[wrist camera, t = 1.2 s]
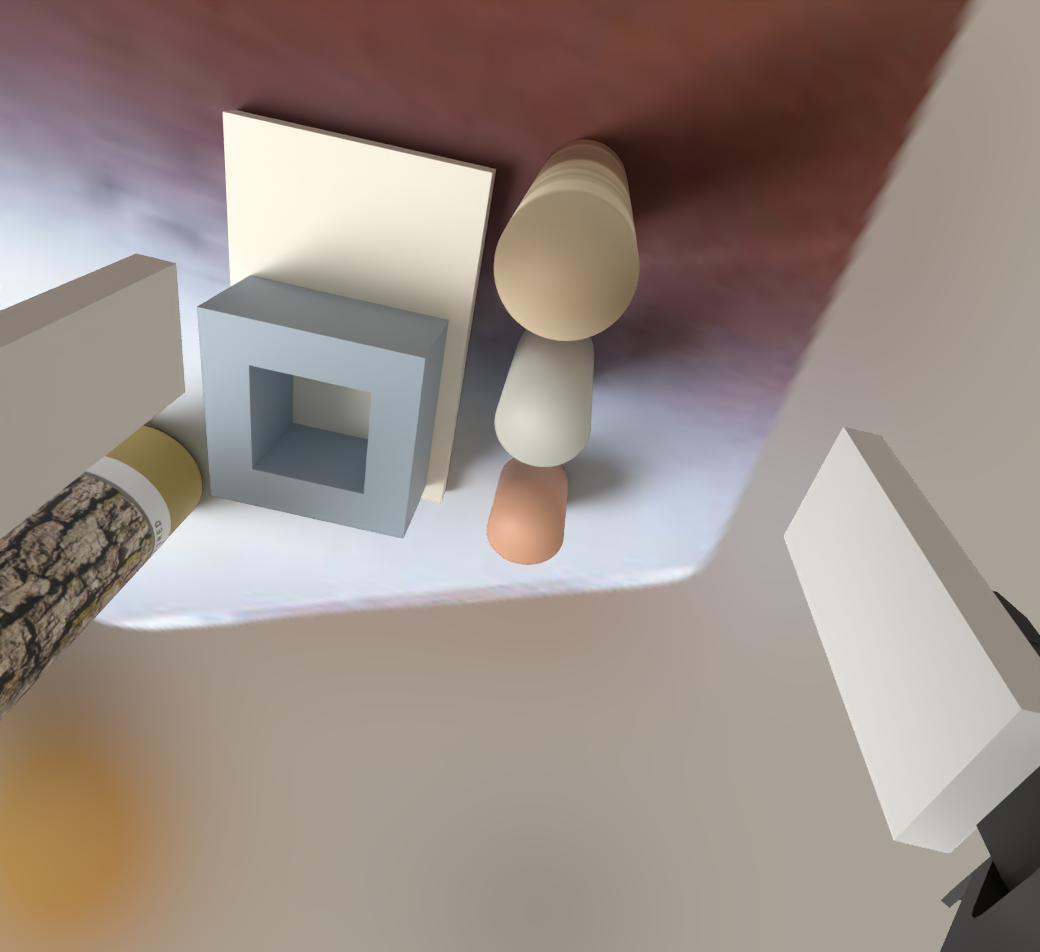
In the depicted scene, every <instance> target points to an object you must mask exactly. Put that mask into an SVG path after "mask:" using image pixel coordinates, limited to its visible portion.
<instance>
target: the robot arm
mask: <svg viewBox="0 0 1040 952" xmlns="http://www.w3.org/2000/svg"><path fill="white" fill-rule="evenodd" d="M184 392H185V382H184V368H183V354H182V340H181V326H180V312H179V298H178V284H177V270H176V263H173V262H168V261H164V260H160V259H156V258H152V257H148V256H144V255H140V254H134V255H132V256H129V257H127V258H125V259H122V260H120V261H118V262H115V263H113V264H110V265H108V266H106V267H103V268H101V269H99V270H96V271H94V272H91V273H89V274H87V275H84V276H82V277H80V278H77V279H75V280H73V281H70V282H68V283H65V284H63V285H61V286H58V287H56V288H54V289H51V290H49V291H46V292H44V293H42V294H39V295H37V296H35V297H32V298H30V299H27V300H25V301H23V302H20V303H18V304H16V305H13V306H11V307H8V308H6V309H4V310H1V311H0V539H1V538H2V537H4V536H5V535H6V534H7V533H9V532H10V531H11V530H12V529H14V528H15V527H16V526H17V525H19V524H20V523H21V522H22V521H24V520H25V519H26V518H28V517H29V516H30V515H31V514H33V513H34V512H35V511H36V510H38V509H39V508H40V507H41V506H43V505H44V504H45V503H46V502H48V501H49V500H50V499H51V498H53V497H54V496H55V495H56V494H58V493H59V492H60V491H61V490H63V489H64V488H65V487H66V486H68V485H69V484H70V483H71V482H73V481H74V480H75V479H76V478H78V477H79V476H80V475H82V474H83V473H84V472H85V471H87V470H88V469H89V468H90V467H92V466H93V465H94V464H95V463H97V462H98V461H99V460H100V459H102V458H103V457H104V456H105V455H107V454H108V453H109V452H110V451H112V450H113V449H114V448H115V447H117V446H118V445H119V444H120V443H122V442H123V441H124V440H125V439H127V438H128V437H129V436H130V435H132V434H133V433H134V432H136V431H137V430H138V429H139V428H141V427H142V426H143V425H144V424H146V423H147V422H148V421H149V420H151V419H152V418H153V417H154V416H156V415H157V414H158V413H159V412H161V411H162V410H163V409H164V408H166V407H167V406H168V405H169V404H171V403H172V402H173V401H174V400H176V399H177V398H178V397H179V396H181V395H182V394H183V393H184ZM784 539H785V542H786V544H787V547H788V550H789V553H790V555H791V558H792V561H793V563H794V566H795V569H796V572H797V575H798V577H799V580H800V583H801V585H802V588H803V591H804V594H805V597H806V600H807V602H808V605H809V607H810V611H811V613H812V616H813V618H814V621H815V624H816V627H817V630H818V632H819V635H820V638H821V641H822V644H823V646H824V649H825V652H826V655H827V657H828V660H829V663H830V666H831V668H832V671H833V674H834V677H835V679H836V682H837V685H838V688H839V691H840V693H841V696H842V698H843V702H844V704H845V707H846V710H847V712H848V715H849V718H850V721H851V724H852V726H853V729H854V732H855V734H856V737H857V740H858V743H859V746H860V748H861V751H862V754H863V757H864V759H865V762H866V765H867V768H868V770H869V773H870V776H871V779H872V782H873V784H874V787H875V790H876V793H877V795H878V798H879V801H880V804H881V806H882V809H883V811H884V814H885V817H886V820H887V823H888V826H889V828H890V831H891V834H892V837H893V839H894V840H895V841H899V842H903V843H907V844H911V845H916V846H920V847H924V848H928V849H933V850H937V851H941V852H946V853H950V852H952V851H953V850H954V849H955V848H956V847H957V846H958V845H959V844H960V843H961V842H962V841H964V839H966V838H967V837H968V836H969V835H970V834H971V833H972V832H973V831H974V830H975V829H977V828H978V830H979V832H980V834H981V836H982V838H983V840H984V842H985V845H986V847H987V849H988V851H989V853H990V855H991V856H990V857H989V858H988V859H987V860H986V861H985V862H984V863H982V864H981V865H980V866H979V867H978V868H977V869H975V870H974V871H973V872H972V873H971V874H970V875H969V876H967V877H966V878H965V879H964V880H963V881H962V882H960V883H959V884H958V885H957V886H956V887H955V888H954V889H952V890H951V891H950V892H949V893H948V894H947V895H946V896H945V897H944V898H943V899H942V900H941V901H942V902H944V903H945V904H946V905H947V906H948V907H949V908H950V907H951V906H952V905H953V904H954V903H956V902H957V901H958V900H962V902H961V904H960V906H959V908H958V911H957V913H956V915H955V918H954V920H953V922H952V925H951V927H950V930H949V932H948V934H947V937H946V939H945V941H944V944H943V946H942V948H941V951H940V952H1040V635H1039V634H1038V632H1037V631H1036V629H1035V628H1034V627H1033V626H1032V624H1031V623H1030V621H1029V620H1028V619H1027V618H1026V617H1025V616H1024V615H1023V614H1022V613H1021V612H1019V611H1018V610H1017V609H1016V608H1015V607H1014V606H1013V605H1012V604H1010V603H1009V602H1008V601H1007V600H1006V599H1005V598H1004V597H1002V596H1001V595H1000V594H999V593H998V592H995V591H992V590H991V588H990V587H989V585H988V584H987V583H986V581H985V580H984V579H983V577H982V576H981V574H980V573H979V572H978V570H977V569H976V567H975V566H974V565H973V563H972V562H971V560H970V559H969V558H968V556H967V555H966V553H965V552H964V551H963V549H962V548H961V546H960V545H959V544H958V542H957V541H956V539H955V538H954V537H953V535H952V534H951V532H950V531H949V530H948V528H947V527H946V525H945V524H944V523H943V521H942V520H941V518H940V517H939V516H938V514H937V513H936V511H935V510H934V509H933V507H932V506H931V504H930V503H929V502H928V500H927V499H926V497H925V496H924V495H923V493H922V492H921V491H920V489H919V488H918V486H917V485H916V483H915V482H914V481H913V479H912V478H911V476H910V475H909V474H908V472H907V471H906V469H905V468H904V467H903V465H902V464H901V462H900V461H899V460H898V458H897V457H896V455H895V454H894V453H893V451H892V450H891V448H890V447H889V446H888V444H887V443H886V441H885V440H884V439H883V437H882V436H879V435H875V434H871V433H867V432H863V431H859V430H855V429H851V428H847V427H843V429H842V430H841V432H840V434H839V436H838V438H837V440H836V441H835V443H834V445H833V447H832V449H831V450H830V452H829V454H828V456H827V458H826V460H825V461H824V463H823V465H822V467H821V469H820V471H819V473H818V474H817V476H816V478H815V480H814V482H813V483H812V485H811V487H810V489H809V491H808V492H807V495H806V496H805V498H804V500H803V502H802V503H801V505H800V507H799V509H798V511H797V513H796V514H795V516H794V518H793V520H792V522H791V524H790V525H789V527H788V529H787V531H786V533H785V535H784Z"/></svg>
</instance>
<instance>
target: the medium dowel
mask: <svg viewBox="0 0 1040 952" xmlns="http://www.w3.org/2000/svg"><path fill="white" fill-rule="evenodd" d="M593 370H594V346H593V343H592V340H591V338H590V337H588V338H585V339H580V340H574V341H558V340H552V339H548V338H544V337H541V336H539V335H537V334H534V333H532V332H531V331H529V330H527V329H525V331H524V332H523V333H522V335H521V337H520V339H519V342H518V345H517V348H516V351H515V354H514V357H513V360H512V363H511V367H510V370H509V373H508V376H507V379H506V382H505V385H504V388H503V392H502V395H501V398H500V401H499V404H498V407H497V411H496V414H495V430H496V434H497V437H498V439H499V441H500V443H501V445H502V446H503V447H504V449H505V450H506V451H507V452H508V453H509V454H510V455H511V456H513V457H514V458H516V459H517V460H519V461H521V462H523V463H526V464H529V465H532V466H538V467H552V466H557V465H560V464H563V463H566V462H568V461H570V460H571V459H573V458H574V457H575V456H577V455H578V454H579V453H580V452H581V451H582V449H583V448H584V447H585V445H586V443H587V441H588V438H589V435H590V430H591V410H592V390H593Z"/></svg>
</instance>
